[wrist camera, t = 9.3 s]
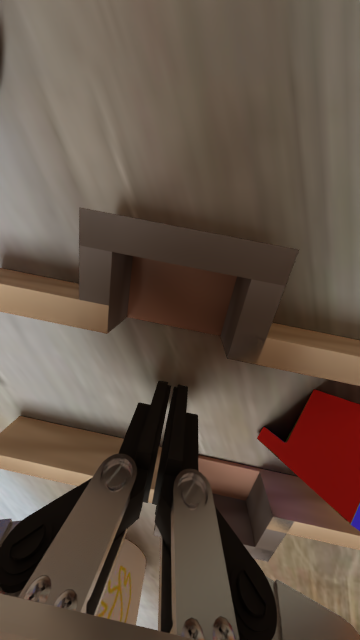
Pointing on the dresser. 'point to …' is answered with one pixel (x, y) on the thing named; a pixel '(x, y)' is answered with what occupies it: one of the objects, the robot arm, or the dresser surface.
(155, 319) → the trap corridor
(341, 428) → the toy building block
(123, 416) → the dresser surface
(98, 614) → the oval cylinder block
